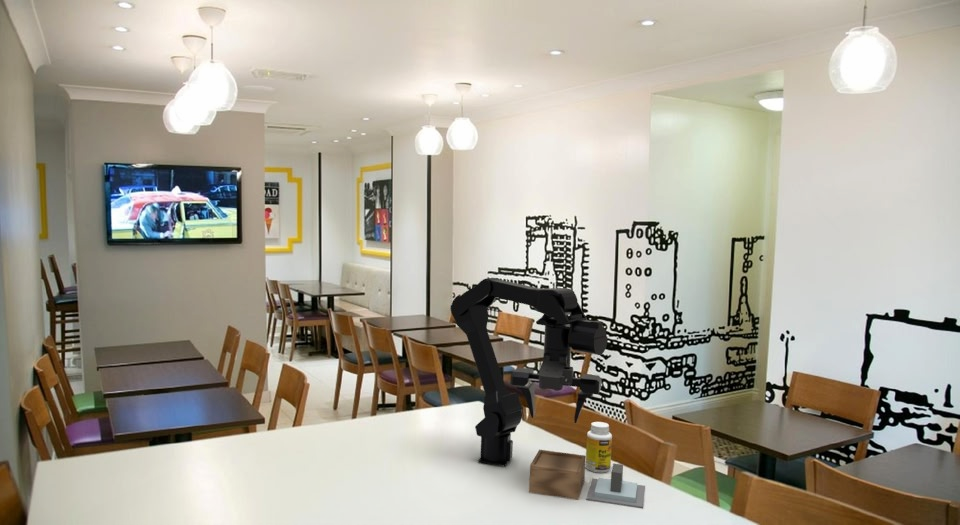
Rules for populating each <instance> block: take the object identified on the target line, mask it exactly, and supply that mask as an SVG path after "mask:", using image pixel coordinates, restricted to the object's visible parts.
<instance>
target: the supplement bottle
mask: <svg viewBox="0 0 960 525" xmlns="http://www.w3.org/2000/svg"><path fill="white" fill-rule="evenodd" d="M586 434H587V435H586V447H585V448H586V449H585V450H586V451H585V456H586V458H585V469H587V470H588V471H591V472H593V473H598V474H599V473H600V474H601V473H607V472H609V471H610V470H611V463H612V462H611V461H612V446H613V435H612V433H611V432H610V425H609V423H607V422H603V421H594V422H591V423H590V430H589V431H587V433H586Z"/></svg>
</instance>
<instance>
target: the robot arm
mask: <svg viewBox="0 0 960 525" xmlns="http://www.w3.org/2000/svg"><path fill="white" fill-rule="evenodd" d="M497 298H498V299H501V300H506V301H509V302H510V301H511V302H513V303H518V304H523V305H527V306H529V307H532V308H534V309H535V310H536V311H537V312H538V313H541V314H542V316H541V317H540V318H539V319H538V320H536V321H535V323H536V325H539V326H544V336H543V338H544V339H543V340H544V342H543V356H542V362H541V365H540V369H539V372H538V373H535V372H534V369H533V368H528V367H519V366H518V367H517V368H516V369H514V370H513V372H511V374H510V379H509V380H510V382H509V384H510V385H511V386H516V389H517V390H520V391H521V393H522V394H523V395H524V397H525V398H524V399H525V401H526V403H527V407H528V410H529V414H530V417H531V418H532V419H534V418H535V412H536V400H535V399H536V398H535V397H536V394H535V392H536V391H535V387H536V386H535V383H538V387H539V389H541V390H547V389H548V390H554V391H557V392H558V391H562V390H563V387H564V386H565V387H573V388H574V387H575V388H579V391H578V394H577V400H576V406H575V411H574V419H573V421H574V422H573V423H574V424H577V422H578V420H579V416H580V414H581V412H582V409H583V406H584V404H585V402H586V400H587V398H592V397H594V395H599V394H600V391H601V389H602V377H601V376H600V375H597V374H587V373H583V374H582V375H581V377H575V376H574V366H571V359H572V358H571V356H572V350H573V351H575V352H579V353H585V354H591V355H597V356H601V355H603V353H605V350H606V348H607V345H608V336H607V331H606V329H605V328H604V321H601V320H588V319H587V316H586V315H585V313H584V311H583V310H582V307H581V305H580V304H579V302H578V297H577V295H576V294H575V291H574V290H573V289H571V288H567V287H566V288H564V287H563V288H561V287H557V288H556V287H555V288H554V287H553V288H552V287H551V288H550V287H549V288H547V287H545V288H542V287H541V288H540V287H535V286H530V285H527V284H521V283H517V282H513V281H507V280H503V279H500V278H498V277H490V278H483V279H481V281H479V282H478V283H477V284H476V285H474V286H473V287H471V288H470V289H468V290H466V291H465V292H463V293H462V294H461V295H458V296H456V297H454V299H453V300H452V302H451V305H450V309H449V310H450V312H451V315H452V318H453V319H454V322H455V324H456V326H457V327H458V328H459V329H460V330H461V331H462V332H463V333H464V334H465V335H466V338H467V341H468V343H469V344H468V345H469V346H470V347H469V348H470V351H471V354H472V357H473V360H474V363H475V366H476V369H477V372H478V376H479V379H480V382H481V384H482V389H483V391H484V402H483V406H482V409H483V414H484V415H483V416H484V418H482V419H481V420H480V421H479V422H478V423H477V424H476V425H475V433H476V436H478V437H480V438H481V439H480V457H479V459H478V460H477V462H478V463H481V464H487V465H495V466H499V467H500V466H503V467H506V466H507V465H508V464H509V462H510V461H511V460H512V458H513V452H514V451H513V447H514V446H513V445H514V441H513V439H512V438H511V436H512V433H514V432H516V430H517V427H518V426H519V425H520V423H521V422H522V419H523V410H524V407H523V406H522V404H521V402H520V397H519V394H518V393H517V392H513V393H512V392H511V391H510V390H508V388H507V386H506V384H505V381H504V378H503V375H502V372H501V370H500V366H499V362H498V359H497V357H496V354H495V351H494V347H493V345H492V344H493V343H492V342H491V339H490V338H491V337H490V335H489V332H488V329H487V327H488V323H489V322H488V321H489V312H488V308H490V307H491V306H492V305H493V304H494V303H495V301H496V299H497Z"/></svg>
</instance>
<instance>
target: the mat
mask: <svg viewBox="0 0 960 525" xmlns="http://www.w3.org/2000/svg"><path fill="white" fill-rule="evenodd" d="M597 481H598V478H592V479H591V481H590V484H589V485H590V486H589V487H588V488H589V489H588V491H587V495H586V498H585V499H586V501H590V502H591V501H592V502H599V503H605V504H611V505H617V506H618V505H619V506H625V507H631V508H638V509H644V503H645V502H644V501H645V492H646V491H645V489H646V485H642V484H637V493H636V501H635V503H632V502H626V501H619V500H612V499H605V498H599V497H594V493H595V489H596V485H597Z"/></svg>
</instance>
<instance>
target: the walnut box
mask: <svg viewBox="0 0 960 525" xmlns="http://www.w3.org/2000/svg"><path fill="white" fill-rule="evenodd" d="M585 464H586V454H576V453H569V452H560V451H554V450H545V449H538V450H537V453H536V454H535V456H534V458H533V459H532V462H531V463H530V465H529V479H528V480H529V483H528V493H530V492H531V494H536V495H537V494H538V495H545V496H552V497H557V498H564V499H565V498H566V499H573V500H579V499H580V496H581V493H582V490H583V487H584V483H585V475H586V465H585Z"/></svg>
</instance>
